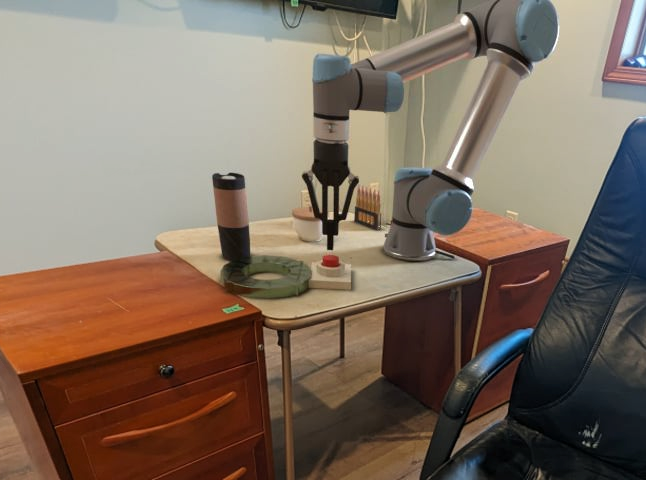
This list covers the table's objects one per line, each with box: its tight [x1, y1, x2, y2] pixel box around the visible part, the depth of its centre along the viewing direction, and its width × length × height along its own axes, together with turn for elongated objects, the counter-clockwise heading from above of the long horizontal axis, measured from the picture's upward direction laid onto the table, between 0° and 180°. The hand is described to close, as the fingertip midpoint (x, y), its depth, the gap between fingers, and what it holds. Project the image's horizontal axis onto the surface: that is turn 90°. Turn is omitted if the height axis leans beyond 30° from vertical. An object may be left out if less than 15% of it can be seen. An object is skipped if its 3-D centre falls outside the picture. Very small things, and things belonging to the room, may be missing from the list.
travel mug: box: [211, 172, 252, 262], centre depth 130 cm, size 8×8×20 cm
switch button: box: [321, 254, 340, 268], centre depth 126 cm, size 4×4×2 cm
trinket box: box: [291, 205, 330, 243], centre depth 151 cm, size 11×11×9 cm
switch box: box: [308, 259, 352, 291], centre depth 128 cm, size 10×12×4 cm
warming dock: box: [219, 254, 312, 300], centre depth 124 cm, size 21×21×2 cm
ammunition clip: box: [353, 183, 382, 231], centre depth 166 cm, size 11×2×12 cm, turn 49°
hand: (330, 248), depth 124 cm, fingers closed
